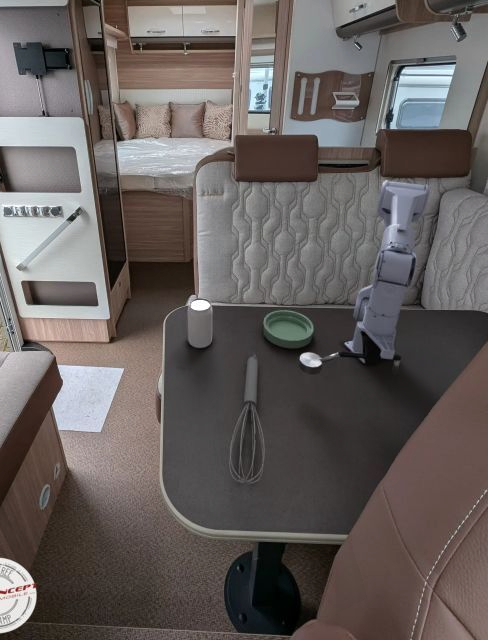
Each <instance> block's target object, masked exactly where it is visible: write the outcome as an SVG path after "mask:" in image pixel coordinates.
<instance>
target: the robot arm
mask: <svg viewBox="0 0 488 640" xmlns="http://www.w3.org/2000/svg"><path fill="white" fill-rule="evenodd" d="M430 193H431V187H430V186H429V184H416V183H408V182H407V183H406V182H400V181H399V182H398V181H391V180H387V179H386V180H384V181H383V182H382V184H381V188H380V193H379V198H378V203H377V208H376V209H377V210H376V213H377V216H378V217H379V218H381V219H383V224H384V230H383V234H382V239H381V245H380V248H379V251H378V253H377V255H376V256H377V257H376V260H375V263H374V267H373V278H372V284H370V285H367V286H365V287H362V288H360V290H358V294H357V296H356V302H355V306H354V310H353V315H352V317H353V319H354V320H355V321H356V325H355V330H354V334H353V338H352V340H350V341H345V342H344V346H345V347H346V348H347V349H348V350H349V352H363V353H365V358H358V360H359V361H360V362H361V363H362V364H365V366H370V367H376V366H377V365H378V363H379V362H380V361H381V360H380V359H381V358H385V359H393V356H394V355H395V352H396V351H395V348H394V347H395V345H394V344H395V340H396V335H397V330H396V327H397V324H398V321H399V317H400V312H401V310H402V309H401V308H402V305H403V302H404V298H405V297H406V292H407V288H408V287H411V285H412V283H413V281H414V279H415V275H416V272H417V267H418V255H417V252H416V251H415V242H416V232H415V230H414V229H413V227H411V224H412V223H415V222H419V220H420V218H421V217H422V215H423V214H424V211H425V210H426V208H427V207H428V204H429V203H428V202H429V199H430Z"/></svg>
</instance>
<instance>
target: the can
mask: <svg viewBox="0 0 488 640" xmlns="http://www.w3.org/2000/svg"><path fill="white" fill-rule="evenodd" d="M187 342H188V343H189V346H190V345H191V346H192V347H194V348H195V349H204V348H208V346H210V345H211V343H212V342H213V307H212V302H211V301H210V300H209V299H207V298H204V297H197V298H193V299H191V300H190V301H189V303H188V307H187Z"/></svg>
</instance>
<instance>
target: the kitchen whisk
mask: <svg viewBox="0 0 488 640" xmlns="http://www.w3.org/2000/svg"><path fill="white" fill-rule="evenodd" d="M258 374H259V361H258V358H257V357H256V355H255V353H253V354H252V356H250V357H248V359H247V362H246V371H245V384H244V396H243V409H242V412H241V413H240V416H239V418H238V420H237V423H236V426H235V428H234V429H233V434H232V438H231V442H230V450H229V462H228V463H229V465H231V467H229V472H230V475H231V477H232V478H233V479H234V480H235V481H236V482H239V483H241V484H243V483H246V484H247V486H249V485H251V484H254V483H256V482H259V481H260V479H261V477H262V475H263V470H264V463H265V457H262V465H261V467H260V469H259V471H258V473H257V474H256V475H255V476H253V474H254V459H255V452H256V451H255V450H256V441H254V433H256V424H257V428H258V433H259V439H260V444H261V445H260V446H261V452H262V453H261V454H262V456H264V451H266V450H265V447H264V446H265V440H264V434H263V429H262V426H261V421H260V418H259V415H258V413H257V410H256V408H257V402H258V399H257V398H258V396H257V395H258ZM249 411H250V417H251V418H250V419H251V420H253V419H255V420H256V423H255V420H253V425H251V436H252V437H251V439H252V442H251V443H252V444H253V454H252V461H251V466H250V469H249V471H248V474H247V476H246V477H245V475H244V470H243V464H242V463H241V461H242V449H243V443H244V436H245V432H246V431H245V430H246V425H247V419H248V415H249ZM243 417H244V418H243ZM242 419H243V422H242V429H241V435H240V436H241V437H240V442H241V443H239V444H240V446H239V447H240V448H239V453H240V454H239V461H238V472H237V471H236V470H235V468H234V465H233V461H232V451H233V447H234V443H235V439H236V436H237V433H238V431H239V427H240V424H241V421H242ZM253 429H254V430H253ZM231 468H232V470H233V472H234V473H235V475H236V476H237V477H238V479H237V478H236V477H235V476H234V475H233V473H232V470H231ZM240 468H241V469H240ZM240 471H241V472H240ZM240 473H242V476H243V477H241V476H240V475H241V474H240ZM250 474H251V478H249V479H248V477H249V476H250ZM259 475H260V476H259ZM258 476H259V478H258V479H256V478H257V477H258ZM247 479H248V480H247ZM255 479H256V480H255ZM253 480H255V481H253Z"/></svg>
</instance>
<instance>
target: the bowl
mask: <svg viewBox="0 0 488 640" xmlns="http://www.w3.org/2000/svg"><path fill="white" fill-rule="evenodd" d="M314 329H315V327H314V324H313V322H312V320H310V319H309V317H307V316H305V315H304V314H303V313H299V312H297V311H293V310H287V309H283V310H282V309H278V310H273V311H272V312H270V313H267V314H266V315H265V316H264V318H263V321H262V333H263V336H264V337H265V338H266V339H267V341H269V342H270V343H272V344H273V345H276V346H278V347H281V348H285V349H300V348H303V347H305V346H307V345H309V344H310V343H311V341H312V340H313V338H314V337H313V336H314Z"/></svg>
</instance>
